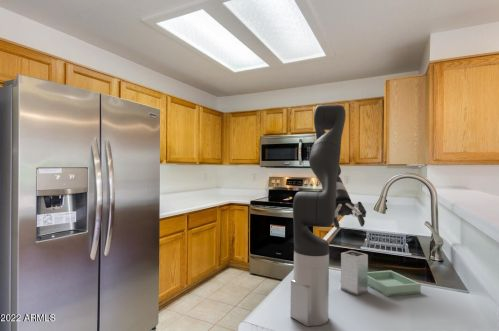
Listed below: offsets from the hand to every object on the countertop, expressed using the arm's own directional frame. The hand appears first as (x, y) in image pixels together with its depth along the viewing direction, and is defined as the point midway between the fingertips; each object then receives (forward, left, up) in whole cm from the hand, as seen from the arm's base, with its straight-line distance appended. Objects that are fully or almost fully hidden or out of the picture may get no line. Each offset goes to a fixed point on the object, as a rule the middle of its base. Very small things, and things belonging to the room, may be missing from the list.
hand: (350, 226), depth 98 cm
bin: (+8, -10, -20) cm, 23 cm away
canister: (-5, -5, -20) cm, 21 cm away
